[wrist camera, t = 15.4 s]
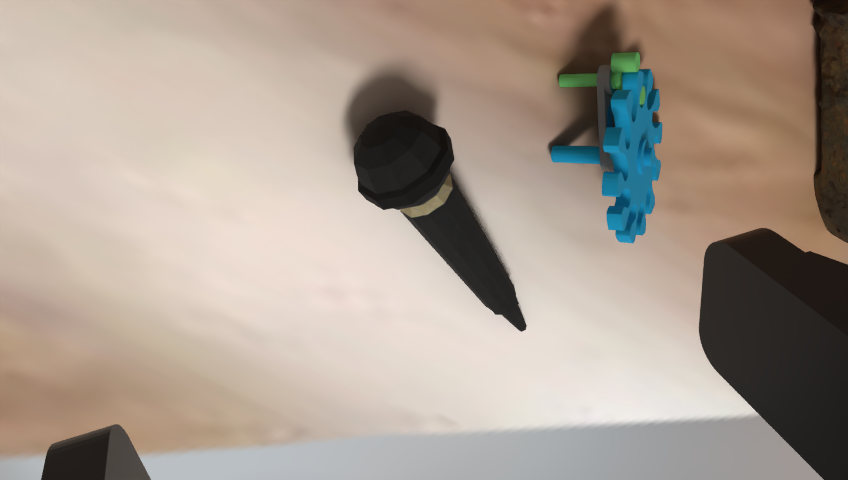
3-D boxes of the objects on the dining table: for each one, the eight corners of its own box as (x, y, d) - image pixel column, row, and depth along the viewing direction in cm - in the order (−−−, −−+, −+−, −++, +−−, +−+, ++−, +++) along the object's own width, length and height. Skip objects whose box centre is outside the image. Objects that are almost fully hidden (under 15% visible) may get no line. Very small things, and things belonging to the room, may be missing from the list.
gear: (671, 204, 47) (631, 273, 39) (583, 199, 50) (530, 262, 42) (671, 31, 43) (626, 71, 35) (575, 36, 46) (513, 74, 38)
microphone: (519, 282, 53) (384, 80, 40) (577, 316, 49) (446, 103, 36) (470, 338, 52) (314, 149, 39) (525, 377, 48) (371, 180, 35)
